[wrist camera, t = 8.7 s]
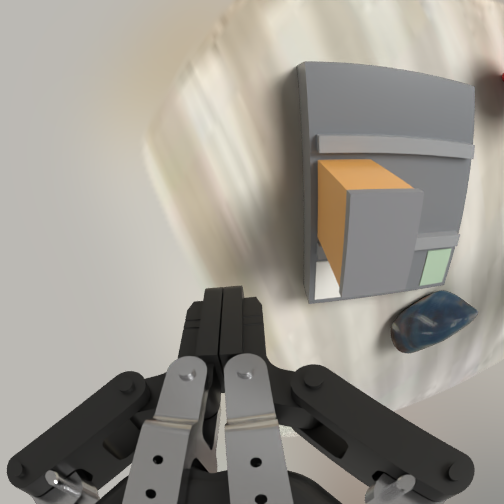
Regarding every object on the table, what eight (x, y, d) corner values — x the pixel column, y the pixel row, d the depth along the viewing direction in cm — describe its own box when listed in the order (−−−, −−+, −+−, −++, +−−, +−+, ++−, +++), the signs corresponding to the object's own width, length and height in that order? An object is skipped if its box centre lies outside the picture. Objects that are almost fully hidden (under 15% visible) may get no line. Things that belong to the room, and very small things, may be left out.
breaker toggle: (371, 157, 19) (424, 192, 13) (366, 233, 22) (405, 289, 16) (316, 158, 19) (350, 194, 13) (316, 237, 22) (341, 298, 16)
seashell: (380, 346, 30) (441, 382, 27) (423, 281, 27) (487, 322, 24) (383, 324, 36) (437, 357, 33) (418, 267, 33) (475, 303, 29)
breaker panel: (454, 84, 18) (480, 87, 15) (431, 269, 28) (447, 289, 25) (297, 65, 18) (307, 60, 15) (303, 284, 29) (310, 309, 25)
